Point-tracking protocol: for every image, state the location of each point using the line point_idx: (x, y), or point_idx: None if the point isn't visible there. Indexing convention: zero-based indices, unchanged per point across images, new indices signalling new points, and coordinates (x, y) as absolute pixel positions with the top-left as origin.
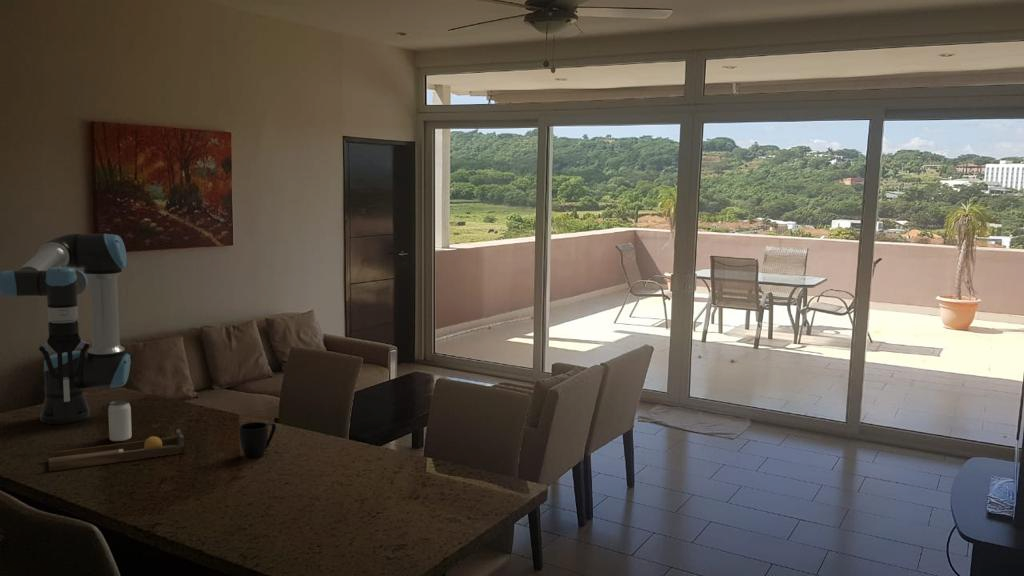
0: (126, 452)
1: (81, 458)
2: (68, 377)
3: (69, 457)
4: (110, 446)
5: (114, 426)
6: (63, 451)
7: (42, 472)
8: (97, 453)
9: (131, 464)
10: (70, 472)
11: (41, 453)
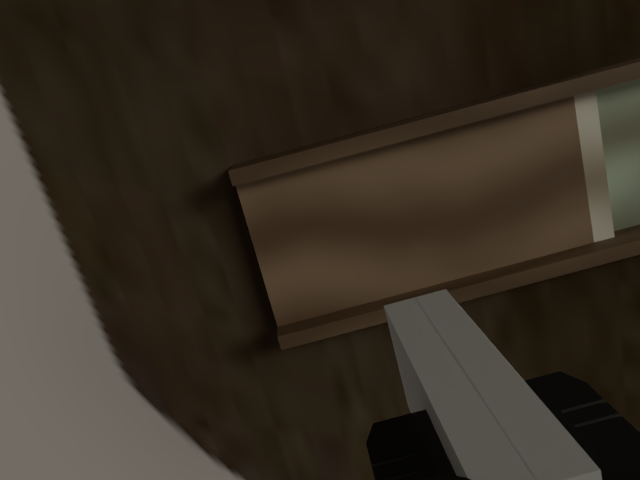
0: (637, 253)
1: None
2: (596, 478)
3: (342, 198)
4: (543, 102)
5: None
6: (306, 166)
7: (255, 337)
8: (474, 157)
9: (633, 297)
10: (381, 359)
11: (145, 9)
